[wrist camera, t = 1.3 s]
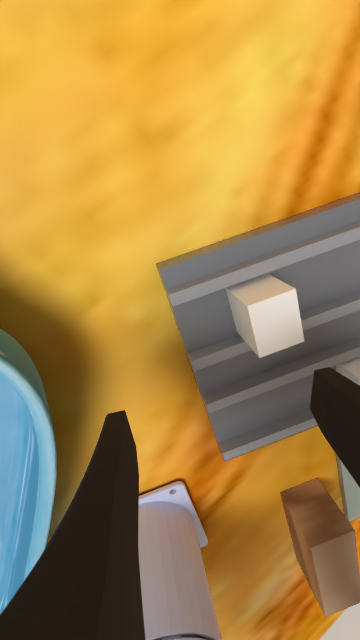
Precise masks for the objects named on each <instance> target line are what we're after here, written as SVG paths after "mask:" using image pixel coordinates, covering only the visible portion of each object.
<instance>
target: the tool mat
mask: <svg viewBox="0 0 360 640" xmlns="http://www.w3.org/2000/svg"><path fill="white" fill-rule="evenodd" d="M336 458H337V465H338V472H339V479H340V487H341V494H342V501H343V508H344V515H345V517H346V519H347V520H348V522H350V521H353V520H355V519H358V518H360V488H359V486H358V485H357V483H356V482H355V480H354V479H353V477H352V476H351V475H350V473H349V472H348V470H347V469H346V467H345V466H344V464H343V463H342V461H341V460H340V459H339V457H338V456H337V454H336Z"/></svg>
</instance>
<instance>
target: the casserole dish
mask: <svg viewBox="0 0 360 640" xmlns="http://www.w3.org/2000/svg"><path fill="white" fill-rule="evenodd" d="M56 481H57V447H56V440H55V433H54V427H53V423H52V419H51V416H50V412H49V406H48V402H47V397H46V392H45V389H44V386H43V383H42V380H41V377H40V375H39V373H38V370H37V368H36V366H35V364H34V362H33V361H32V359H31V358H30V356H29V354H28V353H27V351H26V350H25V349H24V348H23V347H22V346H21V345H20V344H19V343H18V341H16V340H15V339H14V338H13V337H12V336H11V335H9V334H8V333H6V332H5V331H3V330H2V329H0V614H1V613H2V612H3V610H4V609H5V607H6V606H7V605H8V603H9V602H10V600H11V599H12V598H13V596H14V595H15V593H16V592H17V590H18V589H19V587H20V586H21V585H22V583H23V582H24V580H25V579H26V577H27V576H28V574H29V573H30V571H31V570H32V569H33V567H34V566H35V564H36V562H37V561H38V559H39V558H40V556H41V555H42V553H43V551H44V550H45V548H46V546H47V542H48V536H49V531H50V525H51V520H52V514H53V507H54V500H55V492H56Z"/></svg>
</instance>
